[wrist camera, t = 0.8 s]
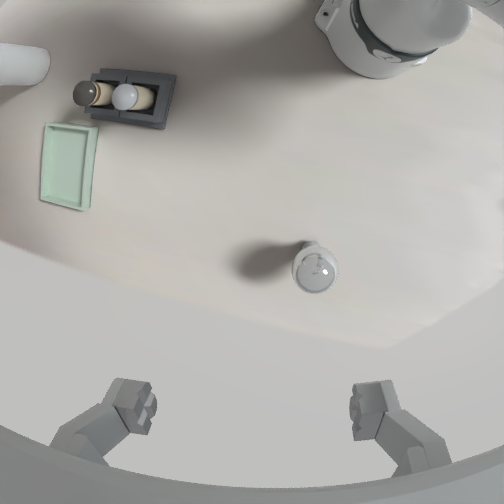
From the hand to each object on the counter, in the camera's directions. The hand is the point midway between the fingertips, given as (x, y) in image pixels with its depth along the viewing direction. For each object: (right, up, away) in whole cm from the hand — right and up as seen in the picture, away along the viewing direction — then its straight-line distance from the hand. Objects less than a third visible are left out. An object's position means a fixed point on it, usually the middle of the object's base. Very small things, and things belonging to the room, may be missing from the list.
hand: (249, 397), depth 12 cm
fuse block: (-20, +31, +34) cm, 50 cm away
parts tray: (-33, +22, +39) cm, 56 cm away
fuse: (-16, +30, +33) cm, 47 cm away
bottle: (-42, +42, +32) cm, 67 cm away
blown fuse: (-23, +32, +33) cm, 51 cm away
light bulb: (+10, +6, +42) cm, 44 cm away
